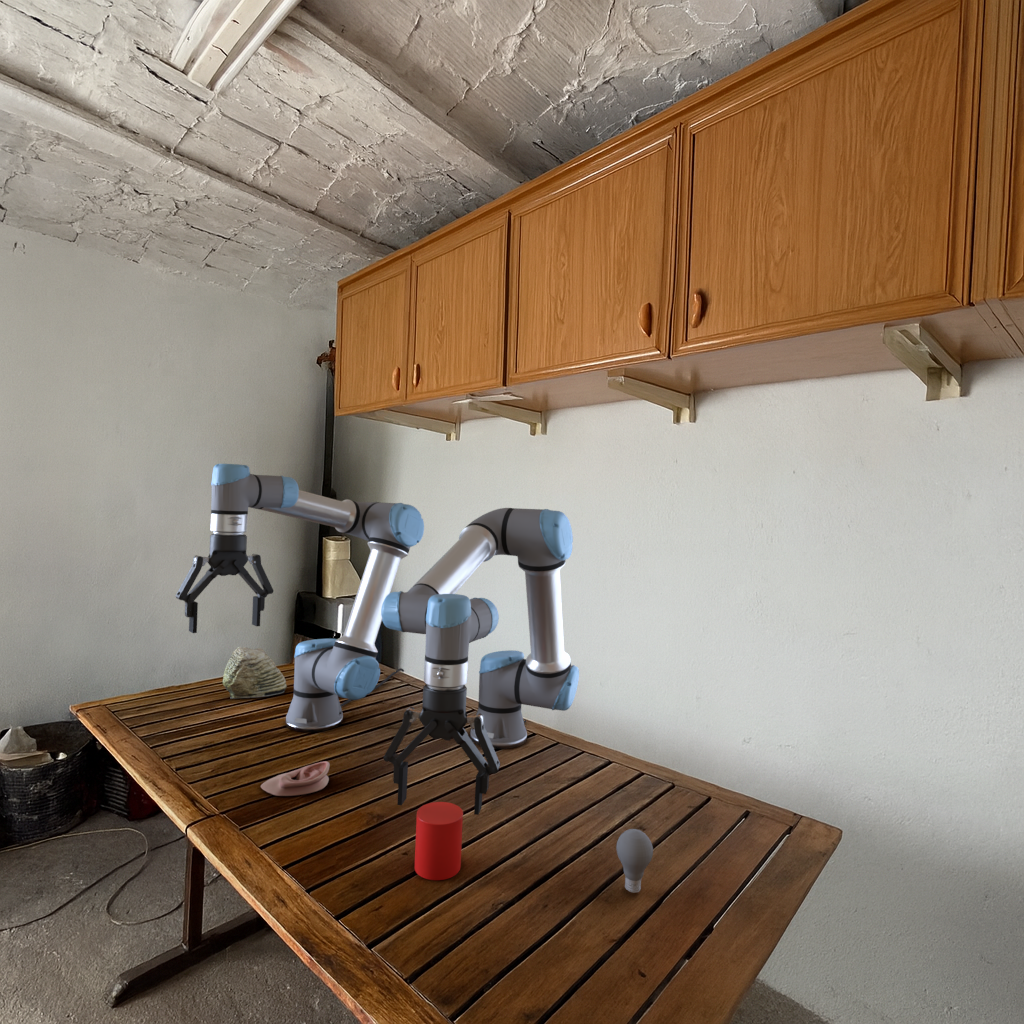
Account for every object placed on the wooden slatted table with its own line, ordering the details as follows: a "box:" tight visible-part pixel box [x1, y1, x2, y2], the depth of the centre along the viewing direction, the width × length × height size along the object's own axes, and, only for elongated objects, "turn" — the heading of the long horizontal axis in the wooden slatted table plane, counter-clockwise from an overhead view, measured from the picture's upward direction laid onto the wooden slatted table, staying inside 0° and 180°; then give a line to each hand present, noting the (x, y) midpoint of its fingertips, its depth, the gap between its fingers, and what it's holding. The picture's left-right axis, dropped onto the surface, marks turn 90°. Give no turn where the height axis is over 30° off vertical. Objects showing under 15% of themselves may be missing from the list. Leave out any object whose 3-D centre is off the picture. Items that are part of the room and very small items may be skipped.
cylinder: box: [414, 801, 464, 881], centre depth 110 cm, size 8×8×10 cm
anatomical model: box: [260, 760, 331, 797], centre depth 138 cm, size 13×4×12 cm
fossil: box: [222, 646, 288, 699], centre depth 198 cm, size 9×18×15 cm, turn 132°
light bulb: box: [615, 828, 654, 894], centre depth 106 cm, size 6×6×10 cm
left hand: (225, 628), depth 141 cm, fingers open, 13 cm apart
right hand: (439, 806), depth 110 cm, fingers open, 13 cm apart
